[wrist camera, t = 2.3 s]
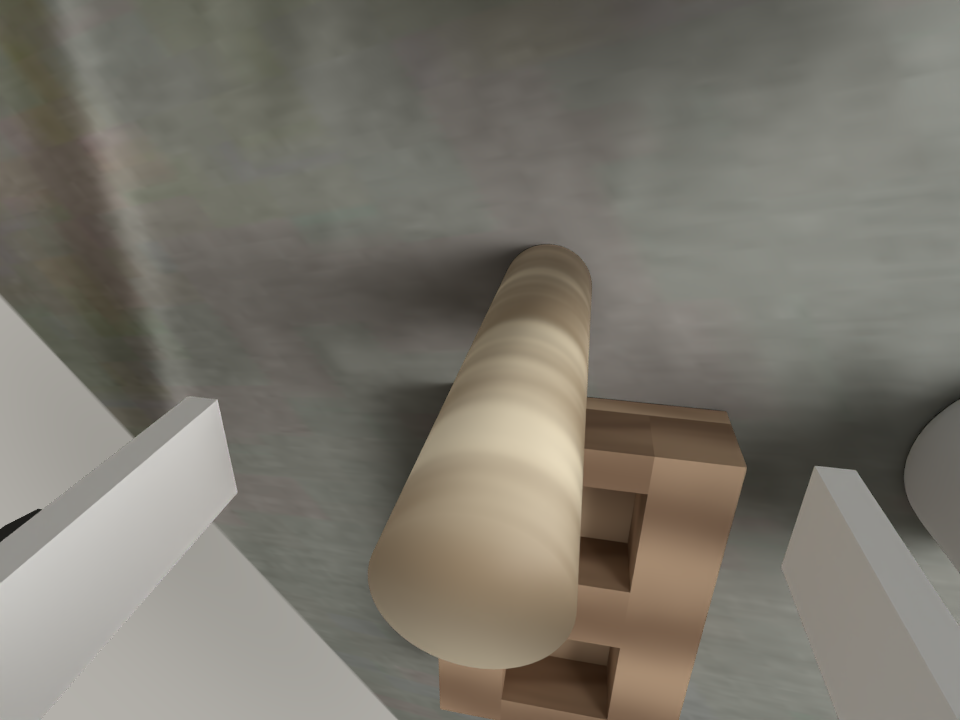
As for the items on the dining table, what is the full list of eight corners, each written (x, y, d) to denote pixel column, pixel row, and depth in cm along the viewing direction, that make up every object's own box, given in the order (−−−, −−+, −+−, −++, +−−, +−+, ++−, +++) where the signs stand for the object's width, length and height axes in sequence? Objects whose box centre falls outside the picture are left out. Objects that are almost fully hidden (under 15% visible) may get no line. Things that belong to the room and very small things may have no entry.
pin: (505, 241, 23) (359, 499, 9) (596, 247, 23) (587, 531, 9) (503, 323, 25) (374, 649, 11) (587, 330, 24) (567, 685, 10)
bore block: (454, 383, 27) (431, 430, 23) (726, 411, 25) (746, 467, 21) (456, 644, 35) (440, 708, 31) (662, 681, 33) (669, 754, 29)
